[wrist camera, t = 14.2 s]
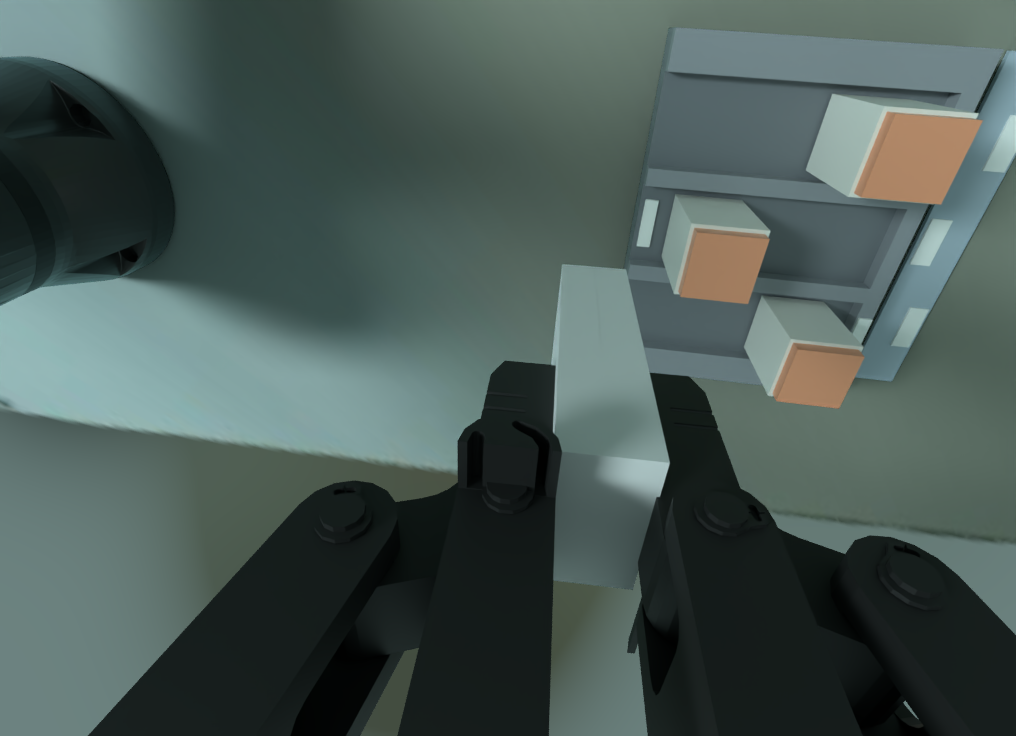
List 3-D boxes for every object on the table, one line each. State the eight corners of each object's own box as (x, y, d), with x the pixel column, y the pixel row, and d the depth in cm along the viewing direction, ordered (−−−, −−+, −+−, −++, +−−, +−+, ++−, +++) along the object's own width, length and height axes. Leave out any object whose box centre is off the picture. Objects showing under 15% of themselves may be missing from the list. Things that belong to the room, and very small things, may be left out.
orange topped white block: (743, 346, 37) (771, 403, 32) (761, 295, 35) (795, 345, 29) (802, 353, 37) (840, 411, 31) (823, 301, 35) (870, 354, 29)
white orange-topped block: (805, 170, 31) (854, 201, 25) (832, 93, 29) (892, 108, 23) (877, 176, 30) (943, 209, 25) (909, 99, 28) (990, 115, 23)
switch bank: (608, 347, 41) (610, 368, 38) (668, 28, 30) (676, 27, 27) (820, 371, 40) (837, 395, 37) (967, 47, 29) (1007, 49, 26)
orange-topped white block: (661, 256, 35) (675, 299, 29) (675, 193, 32) (693, 228, 27) (723, 262, 34) (750, 307, 29) (742, 200, 32) (775, 235, 26)
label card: (848, 374, 40) (850, 377, 39) (1006, 50, 28) (1012, 50, 28) (889, 379, 39) (892, 382, 39) (1066, 54, 28) (1072, 55, 28)
